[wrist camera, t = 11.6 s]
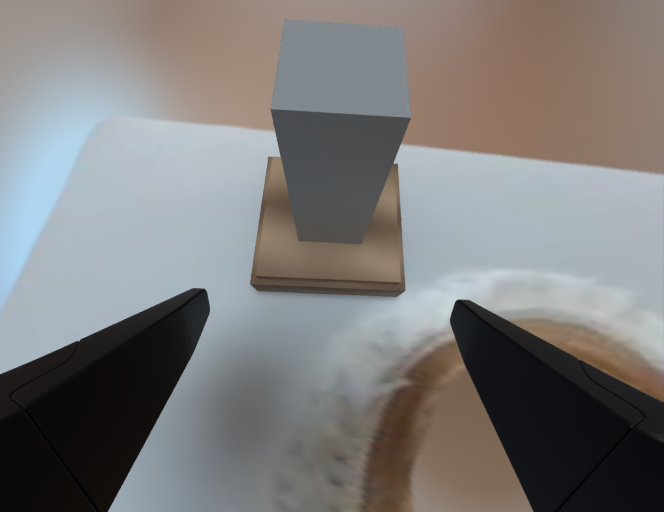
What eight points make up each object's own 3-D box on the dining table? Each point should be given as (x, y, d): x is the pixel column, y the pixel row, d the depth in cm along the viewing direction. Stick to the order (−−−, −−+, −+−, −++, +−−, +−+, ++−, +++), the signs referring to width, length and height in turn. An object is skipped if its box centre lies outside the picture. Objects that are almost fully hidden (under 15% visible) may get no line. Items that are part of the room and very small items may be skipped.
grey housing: (361, 244, 20) (410, 117, 9) (298, 240, 20) (270, 108, 9) (361, 190, 22) (403, 27, 11) (303, 187, 22) (284, 19, 11)
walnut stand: (396, 296, 22) (407, 289, 19) (257, 290, 22) (247, 282, 19) (391, 179, 26) (399, 159, 23) (273, 173, 26) (267, 152, 23)
